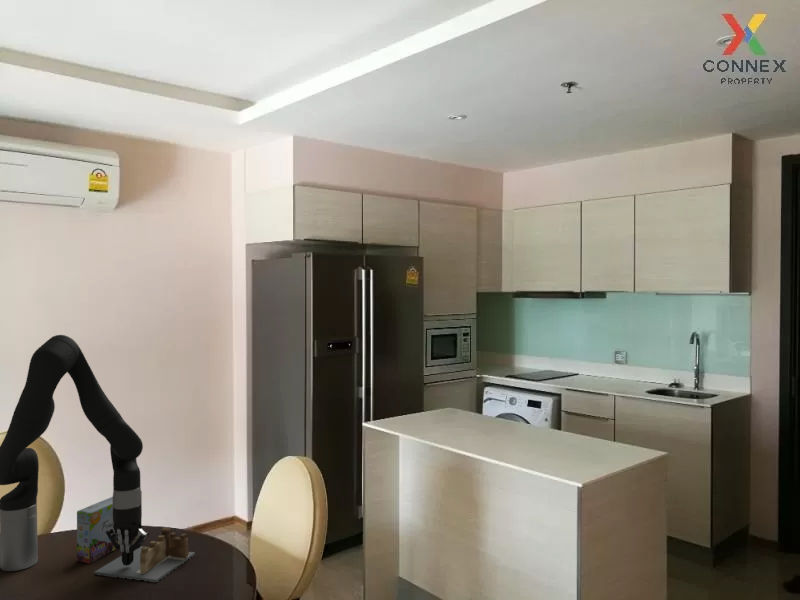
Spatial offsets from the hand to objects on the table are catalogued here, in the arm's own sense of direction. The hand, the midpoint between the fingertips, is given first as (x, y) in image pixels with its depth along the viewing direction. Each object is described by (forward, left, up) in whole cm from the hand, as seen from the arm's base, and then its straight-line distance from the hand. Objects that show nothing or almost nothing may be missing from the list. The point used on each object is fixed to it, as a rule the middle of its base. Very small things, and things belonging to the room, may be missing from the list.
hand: (127, 564), depth 176 cm
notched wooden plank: (+9, +9, -2) cm, 13 cm away
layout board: (+3, +4, -2) cm, 6 cm away
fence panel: (+6, +3, 0) cm, 7 cm away
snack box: (-15, +11, -2) cm, 19 cm away
